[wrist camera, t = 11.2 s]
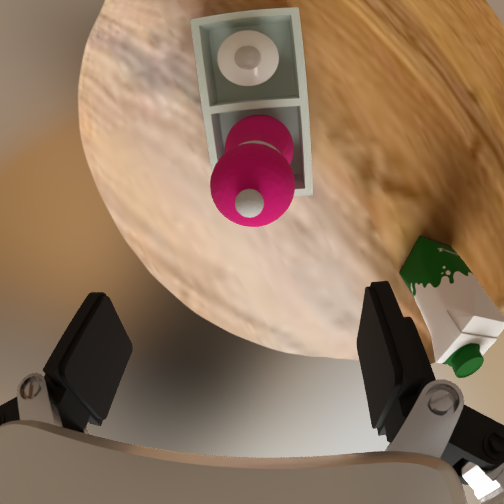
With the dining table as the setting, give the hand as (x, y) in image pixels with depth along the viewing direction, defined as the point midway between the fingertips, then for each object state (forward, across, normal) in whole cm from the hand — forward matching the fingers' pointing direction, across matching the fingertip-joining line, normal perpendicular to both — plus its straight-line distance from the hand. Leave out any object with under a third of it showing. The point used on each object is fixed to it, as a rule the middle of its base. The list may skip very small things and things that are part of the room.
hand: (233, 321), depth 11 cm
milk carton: (+30, -24, +19) cm, 43 cm away
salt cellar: (+29, 0, -10) cm, 31 cm away
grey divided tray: (+30, 0, -5) cm, 30 cm away
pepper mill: (+29, 0, 0) cm, 29 cm away
